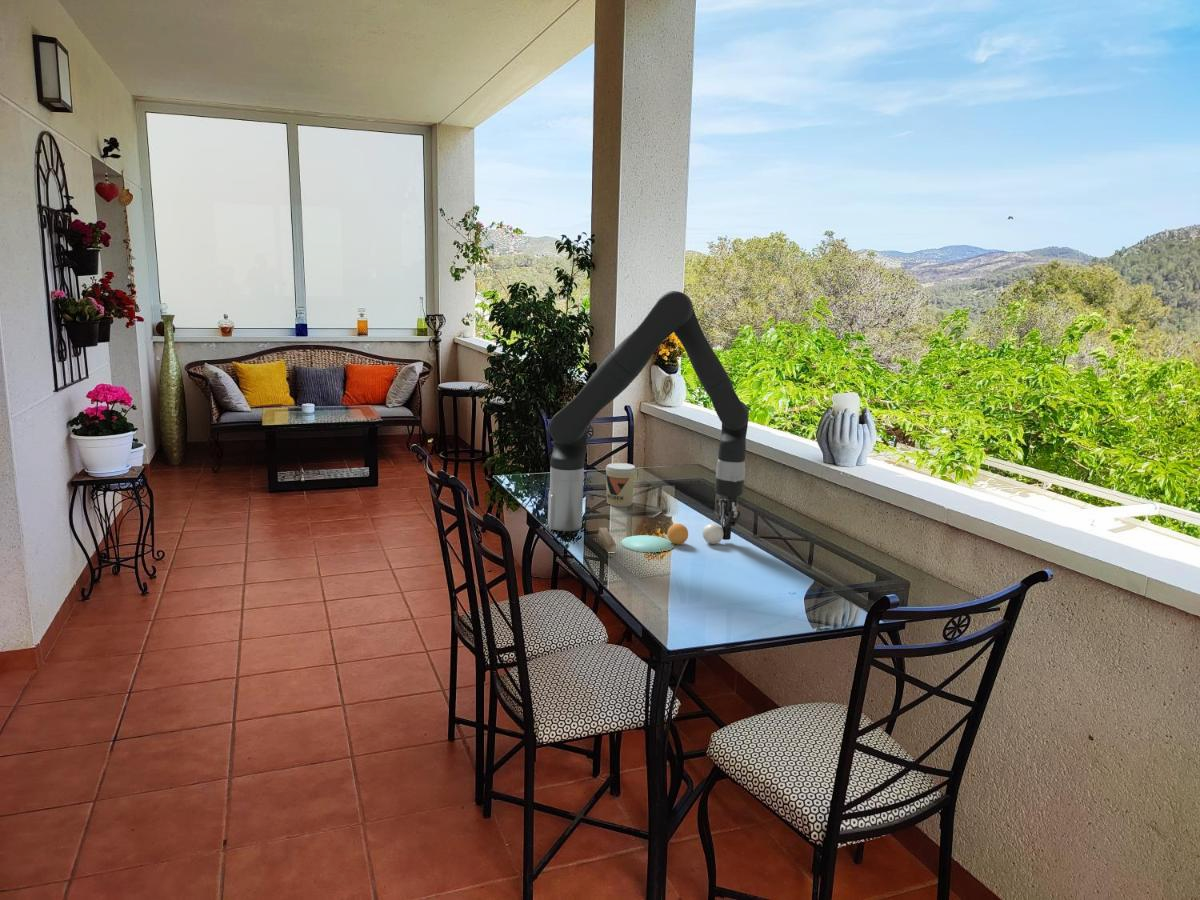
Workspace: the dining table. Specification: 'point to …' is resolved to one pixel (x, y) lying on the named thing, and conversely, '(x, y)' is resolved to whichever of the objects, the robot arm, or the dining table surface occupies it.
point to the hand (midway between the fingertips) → (725, 538)
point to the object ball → (677, 533)
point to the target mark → (647, 543)
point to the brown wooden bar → (607, 540)
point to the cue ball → (713, 533)
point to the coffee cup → (620, 483)
